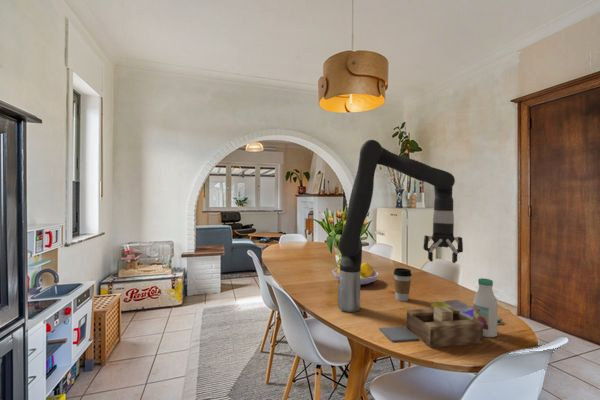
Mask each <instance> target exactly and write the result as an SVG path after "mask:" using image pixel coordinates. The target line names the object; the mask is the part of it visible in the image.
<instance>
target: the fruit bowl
mask: <svg viewBox="0 0 600 400" xmlns="http://www.w3.org/2000/svg"><path fill="white" fill-rule="evenodd" d="M331 271H332V274H333V276H334V278H335V279H336V280H339V281H340V266H339V267H337V268H334V269H333V270H331ZM379 275H380V274H379V273H378V272H377V271H375V270H374V267H373V266H372V265H371V264H370V263H369V262H363V263H362V262H361V275H360V286H362V285H367V284H370V283H372V282H375V281H377V279H378V276H379Z"/></svg>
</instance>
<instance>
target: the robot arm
mask: <svg viewBox="0 0 600 400" xmlns="http://www.w3.org/2000/svg"><path fill="white" fill-rule="evenodd" d="M378 165H379V166H383V167H387V168H390V169H393V170H395V171H397V172H399V173H402V174H404V175H405V176H407V177H410V178H412V179H415V180H418V181H419V182H423V183H427V184H429V185H432V186H433V187H434V189H433V191H434V200H433V201H434V202H433V204H434V205H433V215H432V216H433V218H432V235H427V234H425V235H424V238H423V246H422V247H423V250H424V251H427V259H428V261H429V262H432V263H433V260H434V259H433V257H434V253H433V251H434V250H435V249H437V247H438V248H449V249H450V250H451V251H452V255H451V258H452V259H451V262H452V263H453V264H456V262H458V254H460V253H463V251H464V247H463V244H464V243H463V237H461V236H454V233H455V232H454V230H455V229H454V227H455V226H454V224H455V223H454V222H455V217H454V216H455V215H454V198H453V186H454V185H455V183H456V179H455V176H454V175H453V173H451V172H448V171H446V170H444V169H439V168H437V167H433V166H430V165H428V164H426V163H423V162H421V161H419V160H415V159H413V158H409V157H406V156H402V155H400V154H395V153H394V152H391V151H390V150H388V149H386V148H384V147H383V146H382V145H381V144H380V143H379V141H377V140H374V139H368V140H366V141H365V142H363V144H362V145H361V147H360V149H359V158H358V166H357V171H356V176H355V178H354V182H353V185H352V189H351V192H350V195H349V196H350V197H349V201H348V207H347V212H346V218H345V224H344V227H343V231H342V233H341V236H340V238H339V241H338V250H339V252H340V253H341V259H340V263H339V267H340V280H339V285H338V286H337V308H338V309H339V310H340V311H342V312H348V313H355V312H358V311H360V310H361V285H360V275H361V264H362V258H363V243H362V240H361V235H362V227H363V225H364V223H365V220H366V218H367V216H368V213H369V210H370V207H371V204H372V199H373V194H374V185H375V184H374V183H375V182H374V181H375V173H376V170H377V167H378ZM431 240H432V241H433V242H432V244H431V245H430V247H429V242H430V241H431ZM454 241H455V242H456V243H457V248H456V247H455V246H454V245H453V243H454Z"/></svg>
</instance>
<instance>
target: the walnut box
mask: <svg viewBox="0 0 600 400" xmlns="http://www.w3.org/2000/svg"><path fill="white" fill-rule="evenodd" d="M448 309H449V310H451V311H453V321H440V322H434V309H433V308H421V309H420V308H419V309H418V308H417V309H416V308H415V309H407V310H406V329H408V330H409V331H410V332H411V333H412V334H414V335H415V336H416V337H417V338H418V340H421V342H423V343H424V344H425V345H427V347H429V348H430V349H431V348H442V347H443V348H444V347H454V346H466V345H478V344H483V343H484V341H483V340H484V336H483V323H482V322H480V321H478V320H476V319H469V318H467V317H466V316H464V315H462V314H460V311H459V310H458V309H456V308H454V307H451V308H448Z"/></svg>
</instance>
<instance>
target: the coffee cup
mask: <svg viewBox="0 0 600 400" xmlns="http://www.w3.org/2000/svg"><path fill="white" fill-rule="evenodd" d="M411 272H412V270H411V269H410V268H409V269H408V268H404V267H403V268H402V267H400V268H399V267H396V268H394V271H393V275H394V290H395V291H394V293H395V300H396V301H399V302H408V301H409V297H410V290H411V282H412V281H411V277H412V273H411Z"/></svg>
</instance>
